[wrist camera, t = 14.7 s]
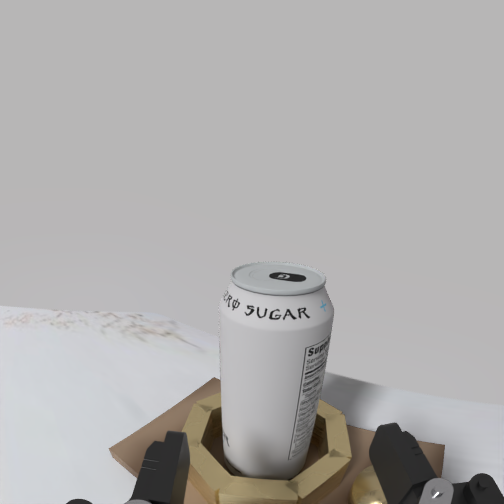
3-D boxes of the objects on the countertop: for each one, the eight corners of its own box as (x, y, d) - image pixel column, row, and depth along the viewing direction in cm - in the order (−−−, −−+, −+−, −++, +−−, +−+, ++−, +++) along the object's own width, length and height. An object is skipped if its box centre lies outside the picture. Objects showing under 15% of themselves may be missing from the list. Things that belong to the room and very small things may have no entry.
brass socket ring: (386, 413, 23) (397, 385, 22) (418, 517, 11) (441, 492, 10) (206, 407, 25) (204, 378, 24) (165, 513, 13) (155, 490, 12)
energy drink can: (242, 427, 22) (245, 255, 19) (311, 443, 20) (342, 266, 17) (210, 476, 17) (195, 283, 14) (291, 499, 15) (331, 303, 12)
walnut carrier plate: (439, 453, 18) (444, 445, 17) (404, 589, 6) (412, 585, 6) (214, 385, 30) (214, 377, 30) (112, 457, 18) (108, 448, 18)
